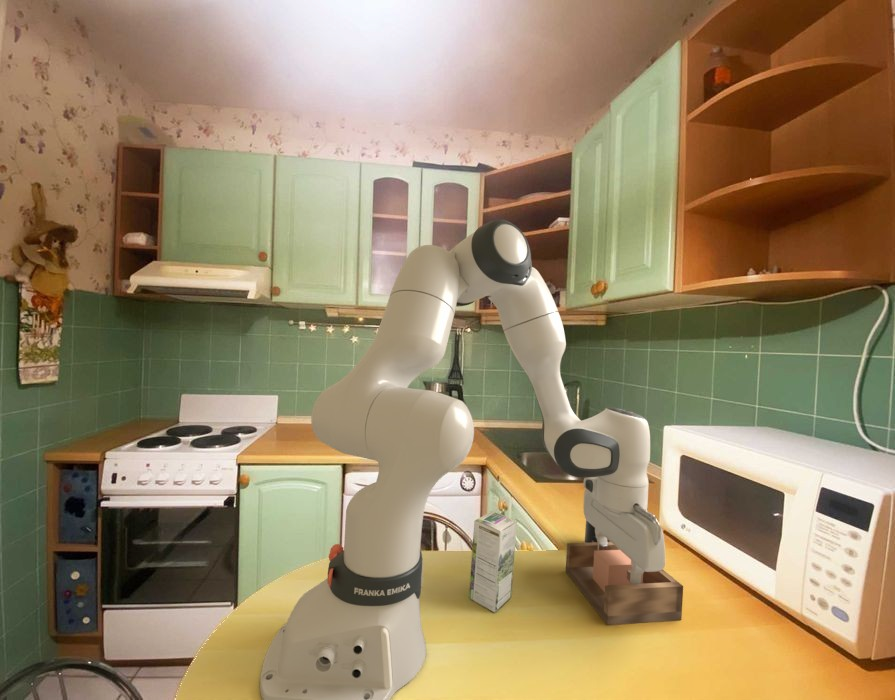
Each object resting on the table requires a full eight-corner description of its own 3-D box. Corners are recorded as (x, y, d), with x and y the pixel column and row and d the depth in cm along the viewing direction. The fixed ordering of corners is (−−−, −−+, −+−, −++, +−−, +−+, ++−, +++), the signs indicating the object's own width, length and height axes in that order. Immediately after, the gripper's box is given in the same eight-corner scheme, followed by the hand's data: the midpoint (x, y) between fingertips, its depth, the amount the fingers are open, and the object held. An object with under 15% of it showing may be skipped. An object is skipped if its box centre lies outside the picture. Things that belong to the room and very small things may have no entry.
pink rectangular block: (607, 595, 68) (609, 565, 68) (592, 578, 73) (594, 550, 73) (642, 593, 69) (643, 564, 69) (625, 577, 74) (626, 549, 74)
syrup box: (485, 584, 72) (489, 509, 72) (512, 598, 68) (517, 519, 68) (468, 598, 67) (472, 518, 67) (496, 614, 64) (500, 530, 64)
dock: (607, 625, 63) (609, 590, 63) (565, 571, 77) (567, 543, 77) (681, 619, 65) (683, 586, 65) (626, 568, 80) (628, 541, 80)
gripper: (678, 519, 61) (673, 603, 61) (606, 476, 81) (602, 539, 81) (643, 519, 60) (638, 605, 60) (579, 476, 80) (575, 540, 80)
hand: (617, 566), depth 71 cm, fingers open, 8 cm apart
